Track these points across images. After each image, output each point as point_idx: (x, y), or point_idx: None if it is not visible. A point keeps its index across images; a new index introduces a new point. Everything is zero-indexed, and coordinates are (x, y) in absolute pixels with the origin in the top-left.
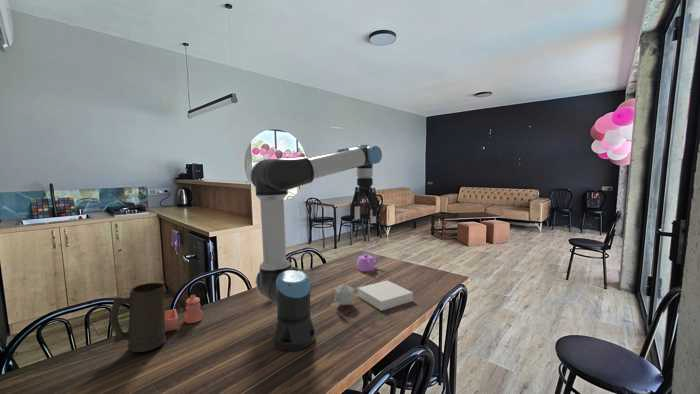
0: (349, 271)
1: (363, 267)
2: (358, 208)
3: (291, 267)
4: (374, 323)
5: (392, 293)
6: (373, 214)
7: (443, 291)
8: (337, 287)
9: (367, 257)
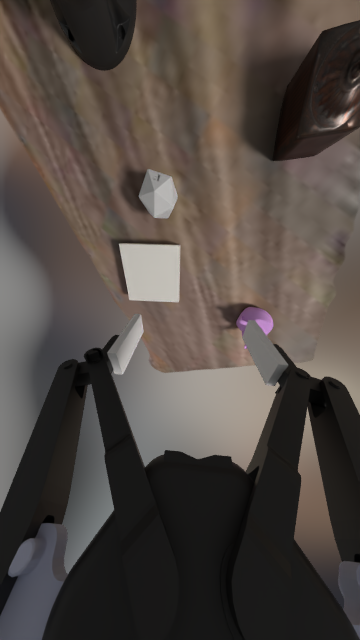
0: (267, 295)
1: (246, 311)
2: (264, 369)
3: (349, 74)
4: (95, 207)
5: (136, 276)
6: (114, 339)
7: None
8: (165, 179)
9: None
